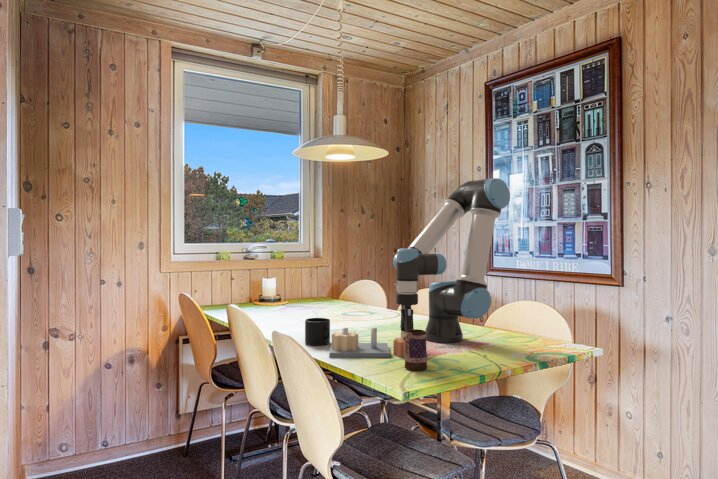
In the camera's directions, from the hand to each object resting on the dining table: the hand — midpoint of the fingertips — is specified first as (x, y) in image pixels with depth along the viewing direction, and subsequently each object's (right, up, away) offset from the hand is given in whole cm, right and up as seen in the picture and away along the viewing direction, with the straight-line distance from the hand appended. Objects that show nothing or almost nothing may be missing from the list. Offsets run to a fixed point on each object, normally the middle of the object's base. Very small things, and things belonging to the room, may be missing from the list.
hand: (406, 354), depth 174 cm
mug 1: (-32, 0, +17) cm, 36 cm away
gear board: (-16, 0, +3) cm, 17 cm away
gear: (0, 0, 0) cm, 0 cm away
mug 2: (0, 0, -20) cm, 20 cm away
